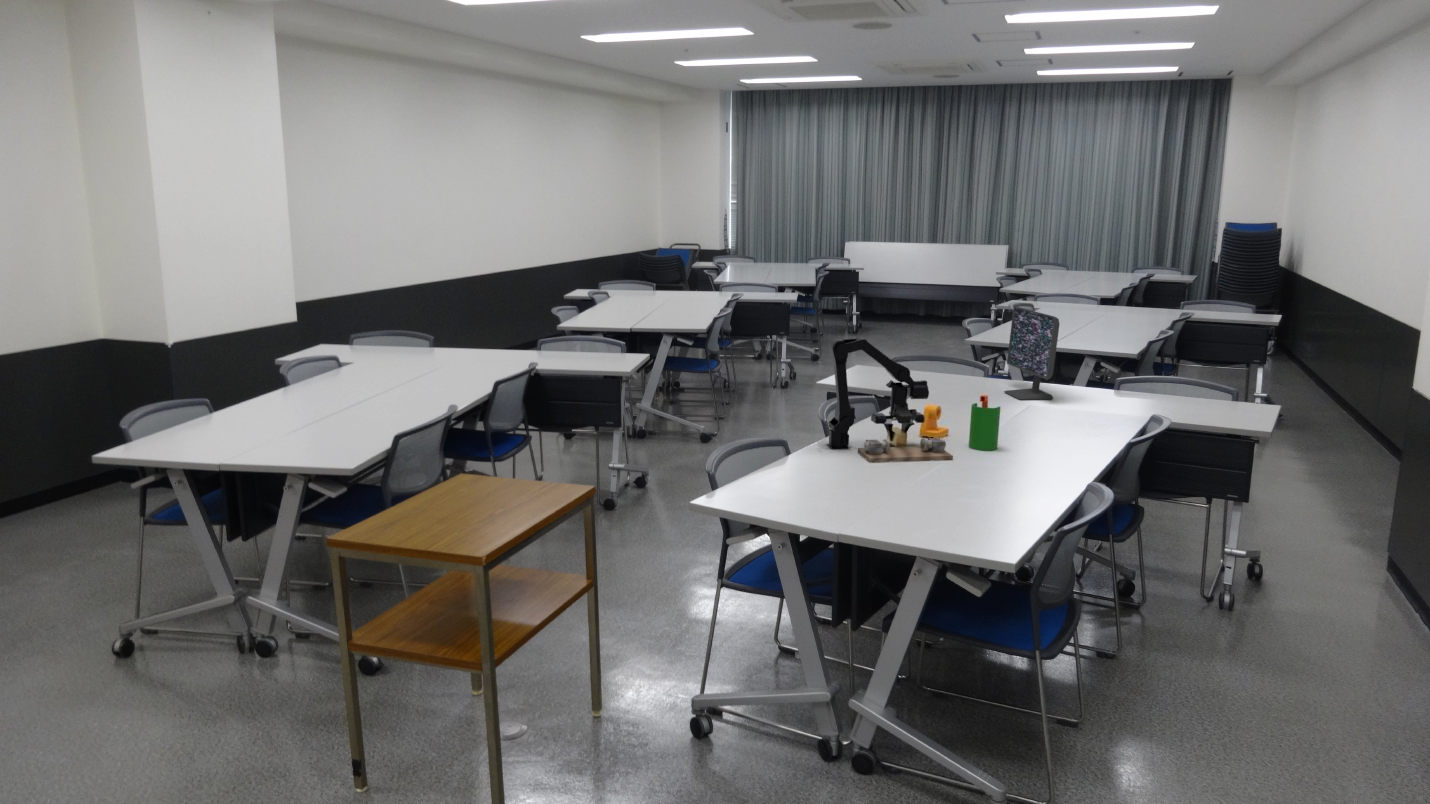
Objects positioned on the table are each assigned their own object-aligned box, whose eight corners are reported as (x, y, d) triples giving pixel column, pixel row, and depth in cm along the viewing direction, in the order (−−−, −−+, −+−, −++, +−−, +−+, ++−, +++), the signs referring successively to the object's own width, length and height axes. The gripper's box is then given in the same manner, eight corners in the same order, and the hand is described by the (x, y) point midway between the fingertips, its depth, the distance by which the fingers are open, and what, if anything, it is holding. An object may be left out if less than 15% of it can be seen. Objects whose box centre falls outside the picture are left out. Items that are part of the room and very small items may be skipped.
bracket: (936, 440, 359) (938, 409, 356) (919, 437, 363) (921, 406, 361) (949, 435, 367) (951, 404, 365) (931, 432, 372) (933, 402, 369)
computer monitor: (992, 387, 464) (999, 305, 456) (1024, 387, 466) (1031, 305, 458) (1031, 406, 422) (1039, 316, 413) (1066, 406, 423) (1074, 316, 415)
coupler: (906, 446, 345) (907, 433, 344) (896, 447, 344) (896, 433, 343) (897, 440, 354) (897, 427, 353) (886, 440, 354) (887, 427, 353)
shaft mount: (870, 462, 327) (870, 445, 325) (857, 452, 340) (858, 435, 339) (952, 459, 331) (953, 442, 330) (937, 449, 345) (938, 433, 344)
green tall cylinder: (998, 446, 351) (1002, 393, 346) (994, 452, 343) (999, 397, 339) (970, 443, 355) (974, 390, 351) (966, 448, 347) (970, 395, 343)
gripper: (881, 404, 337) (879, 446, 340) (931, 403, 340) (929, 445, 343) (871, 398, 347) (869, 439, 351) (920, 397, 350) (917, 438, 354)
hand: (896, 440), depth 349 cm, fingers closed on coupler, 4 cm apart
